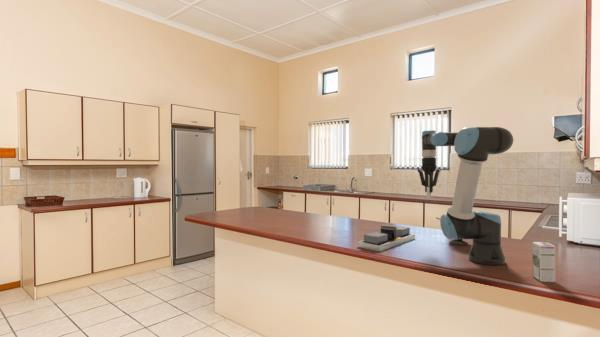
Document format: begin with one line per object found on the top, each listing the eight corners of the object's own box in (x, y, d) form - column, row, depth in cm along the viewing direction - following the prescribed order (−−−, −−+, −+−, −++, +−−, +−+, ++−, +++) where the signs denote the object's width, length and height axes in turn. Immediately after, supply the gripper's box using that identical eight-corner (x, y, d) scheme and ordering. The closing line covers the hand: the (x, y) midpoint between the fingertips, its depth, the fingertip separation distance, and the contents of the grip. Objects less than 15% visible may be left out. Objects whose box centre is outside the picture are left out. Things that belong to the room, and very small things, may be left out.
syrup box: (556, 282, 128) (556, 245, 128) (539, 281, 129) (539, 244, 129) (547, 277, 134) (548, 242, 134) (531, 276, 135) (531, 241, 135)
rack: (415, 238, 202) (415, 227, 202) (380, 251, 174) (380, 238, 174) (394, 235, 212) (394, 224, 212) (358, 246, 184) (358, 234, 184)
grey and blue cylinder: (469, 241, 194) (469, 211, 194) (470, 246, 183) (470, 214, 183) (447, 240, 199) (447, 210, 199) (446, 244, 188) (446, 213, 188)
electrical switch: (398, 240, 192) (397, 225, 192) (395, 243, 188) (394, 227, 187) (382, 239, 198) (381, 223, 197) (379, 241, 193) (378, 226, 192)
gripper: (442, 157, 188) (442, 198, 189) (420, 157, 197) (420, 196, 198) (437, 157, 183) (437, 199, 183) (415, 157, 192) (415, 197, 193)
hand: (428, 198), depth 191 cm, fingers closed
